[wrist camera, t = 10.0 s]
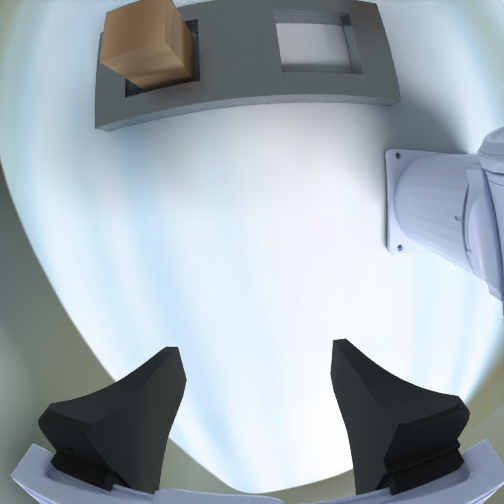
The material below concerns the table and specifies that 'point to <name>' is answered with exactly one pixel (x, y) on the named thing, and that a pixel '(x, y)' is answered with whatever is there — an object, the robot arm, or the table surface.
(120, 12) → the walnut peg
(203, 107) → the grey slotted board
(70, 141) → the table surface
